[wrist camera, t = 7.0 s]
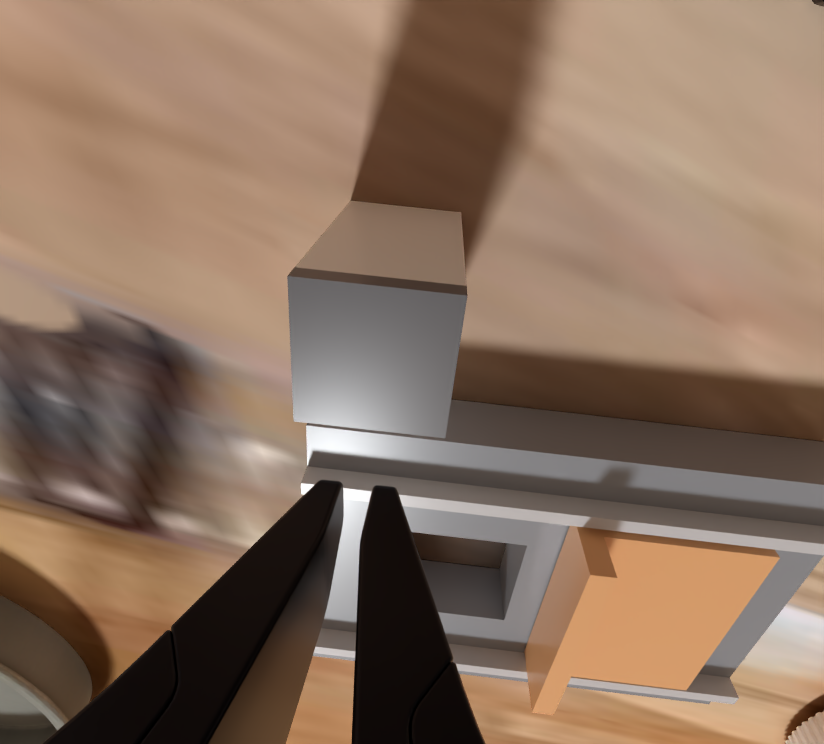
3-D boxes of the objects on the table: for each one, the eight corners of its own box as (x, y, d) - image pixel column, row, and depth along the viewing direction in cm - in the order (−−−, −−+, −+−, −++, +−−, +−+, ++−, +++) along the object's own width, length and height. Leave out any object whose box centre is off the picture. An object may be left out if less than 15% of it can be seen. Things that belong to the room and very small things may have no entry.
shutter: (766, 537, 20) (810, 601, 18) (678, 669, 26) (702, 733, 23) (573, 515, 21) (590, 575, 18) (524, 651, 26) (531, 712, 23)
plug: (461, 212, 18) (467, 295, 11) (447, 314, 20) (445, 438, 13) (350, 200, 18) (287, 276, 11) (348, 303, 20) (293, 421, 13)
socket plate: (823, 441, 22) (893, 510, 18) (686, 650, 30) (717, 724, 26) (323, 384, 22) (299, 441, 18) (324, 606, 30) (307, 674, 27)
